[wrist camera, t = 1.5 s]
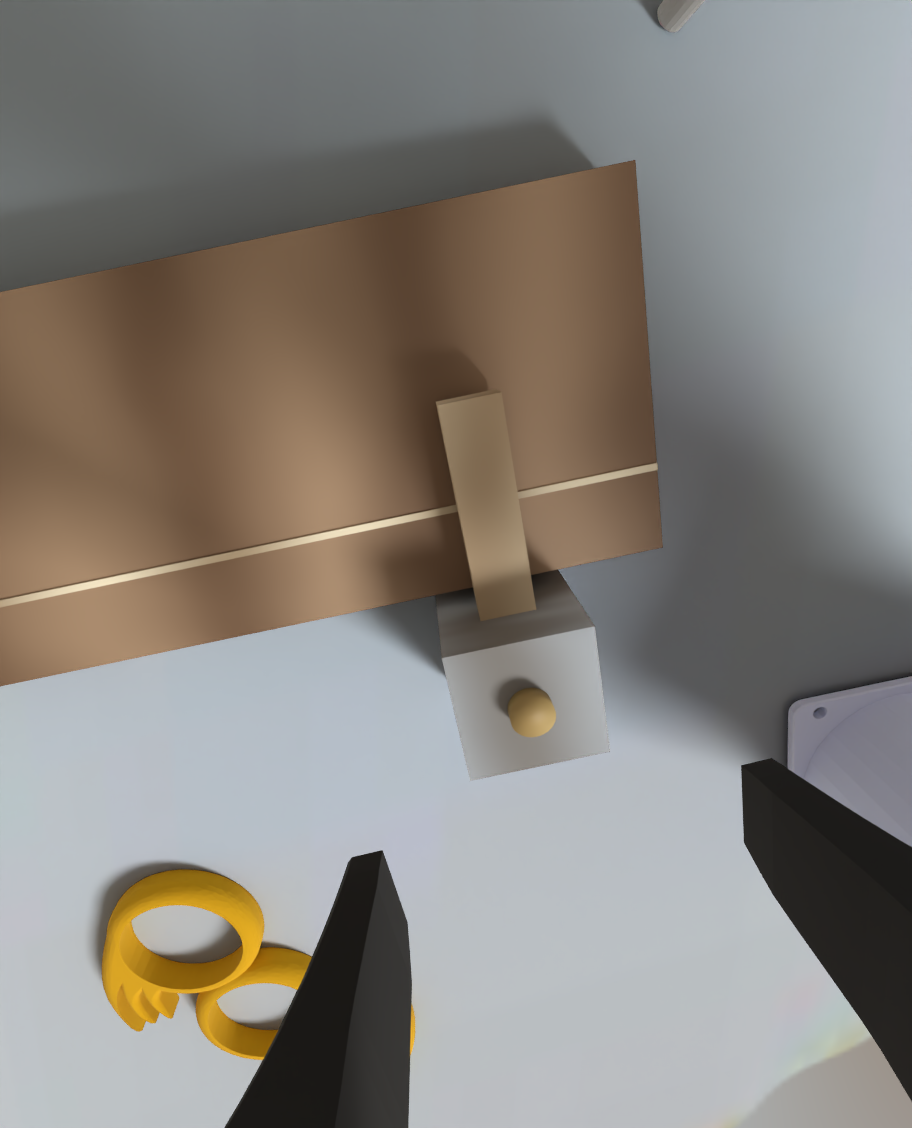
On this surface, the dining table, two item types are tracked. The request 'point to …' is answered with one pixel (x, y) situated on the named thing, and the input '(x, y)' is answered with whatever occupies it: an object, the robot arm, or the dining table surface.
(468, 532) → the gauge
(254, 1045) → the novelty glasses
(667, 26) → the toy
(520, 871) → the dining table surface
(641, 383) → the board
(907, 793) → the robot arm
